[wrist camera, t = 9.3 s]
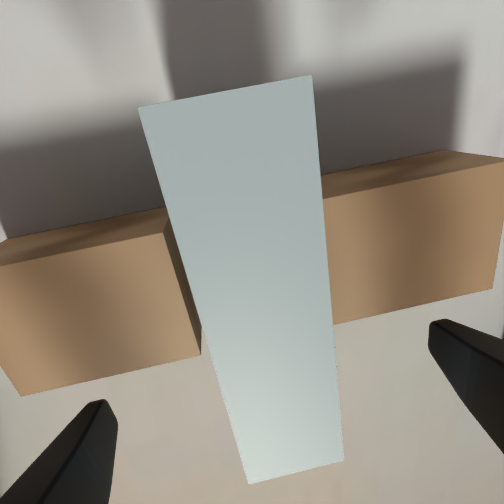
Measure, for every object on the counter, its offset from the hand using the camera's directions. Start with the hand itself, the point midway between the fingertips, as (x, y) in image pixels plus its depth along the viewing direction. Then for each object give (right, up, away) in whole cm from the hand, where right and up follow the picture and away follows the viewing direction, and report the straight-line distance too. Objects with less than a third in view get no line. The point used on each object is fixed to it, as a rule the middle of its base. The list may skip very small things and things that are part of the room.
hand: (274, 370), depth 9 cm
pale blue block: (-1, +3, +7) cm, 8 cm away
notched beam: (-1, +3, +8) cm, 9 cm away
